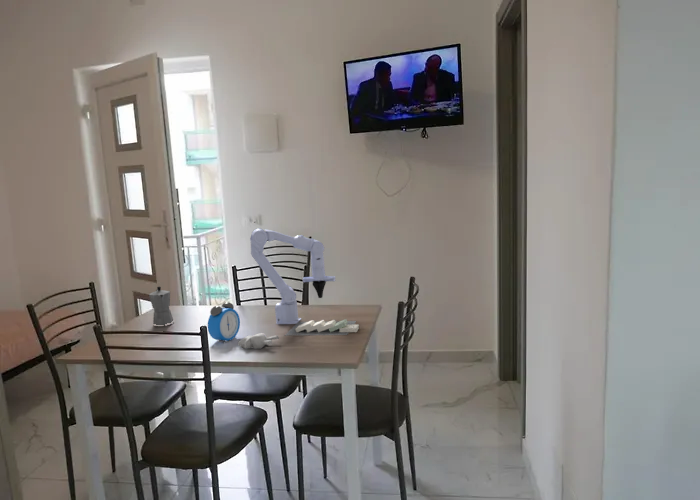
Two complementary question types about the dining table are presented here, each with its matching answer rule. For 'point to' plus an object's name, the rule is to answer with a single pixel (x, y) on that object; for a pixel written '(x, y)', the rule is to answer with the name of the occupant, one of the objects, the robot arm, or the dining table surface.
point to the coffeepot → (161, 306)
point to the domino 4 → (338, 325)
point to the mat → (315, 332)
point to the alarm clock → (223, 322)
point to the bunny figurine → (256, 341)
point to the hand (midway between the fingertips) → (320, 297)
